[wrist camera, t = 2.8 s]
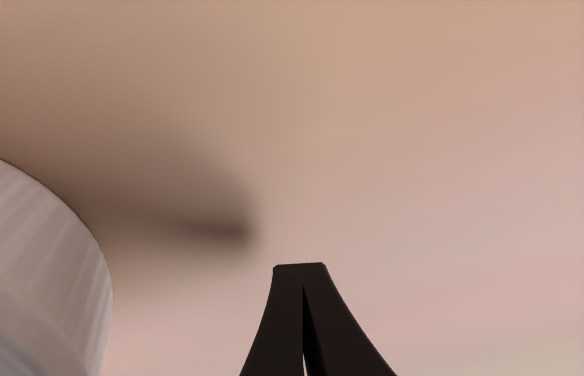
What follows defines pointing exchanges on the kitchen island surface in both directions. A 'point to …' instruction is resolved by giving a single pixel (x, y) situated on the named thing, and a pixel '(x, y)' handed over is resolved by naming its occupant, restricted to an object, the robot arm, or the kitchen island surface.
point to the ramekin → (49, 284)
